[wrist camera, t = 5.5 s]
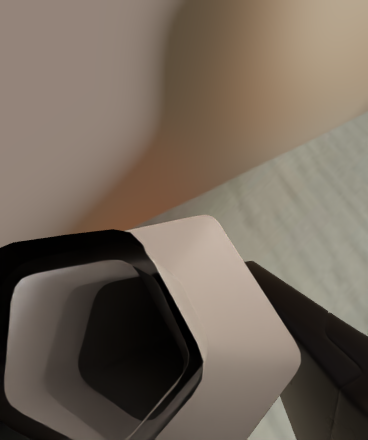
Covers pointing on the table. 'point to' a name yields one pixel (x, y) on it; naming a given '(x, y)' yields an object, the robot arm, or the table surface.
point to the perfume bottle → (138, 336)
